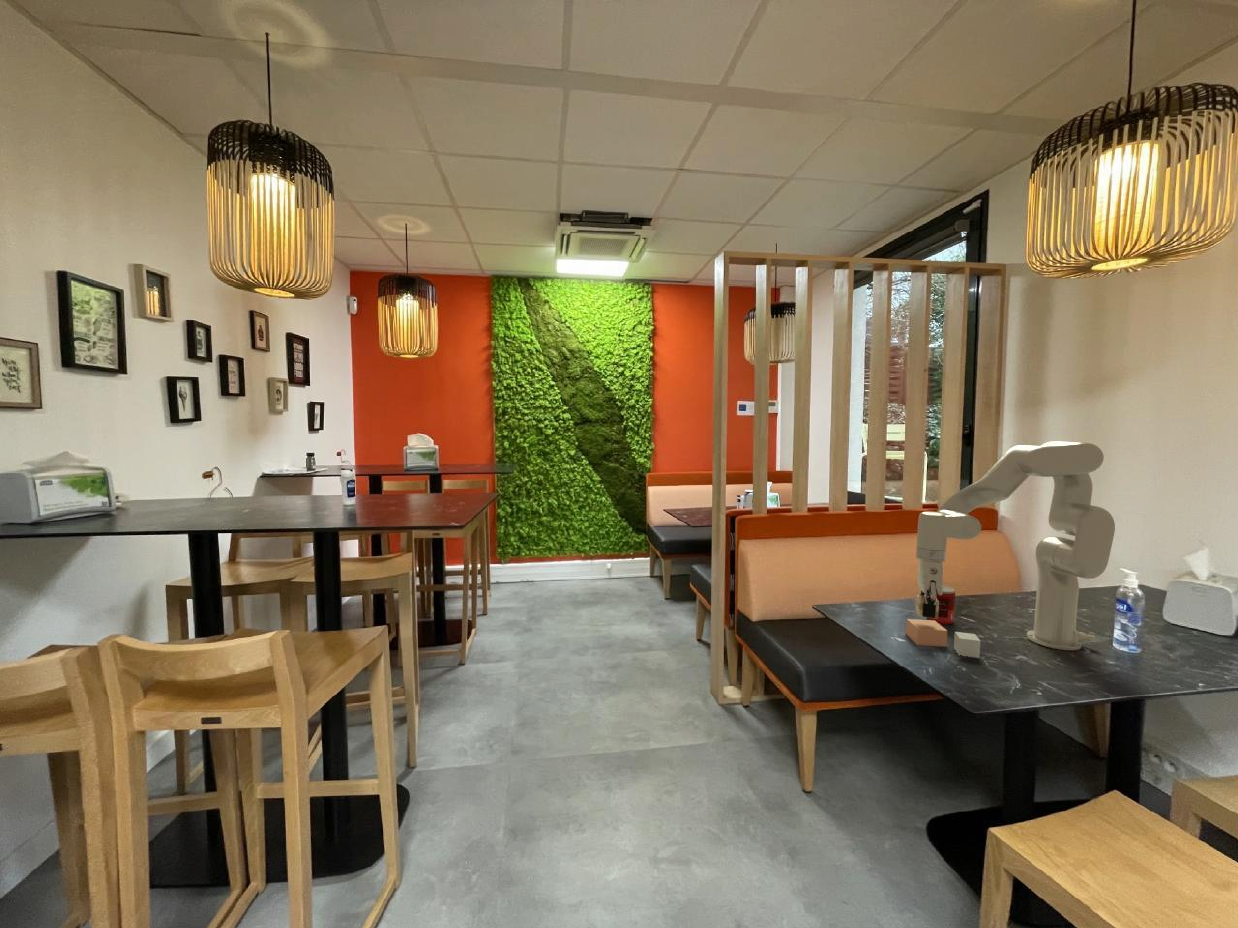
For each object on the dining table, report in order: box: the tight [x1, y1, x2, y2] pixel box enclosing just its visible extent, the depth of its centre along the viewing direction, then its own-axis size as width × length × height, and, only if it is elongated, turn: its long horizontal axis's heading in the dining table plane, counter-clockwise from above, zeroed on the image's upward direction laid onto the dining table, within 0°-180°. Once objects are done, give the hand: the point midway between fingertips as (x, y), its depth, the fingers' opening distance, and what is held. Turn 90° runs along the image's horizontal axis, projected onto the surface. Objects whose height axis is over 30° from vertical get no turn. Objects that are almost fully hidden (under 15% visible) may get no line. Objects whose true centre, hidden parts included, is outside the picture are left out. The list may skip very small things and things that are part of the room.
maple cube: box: [914, 594, 939, 619], centre depth 157 cm, size 5×5×5 cm
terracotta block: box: [905, 618, 948, 648], centre depth 158 cm, size 8×8×5 cm
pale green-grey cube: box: [953, 631, 981, 659], centre depth 149 cm, size 5×5×5 cm
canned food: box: [926, 584, 956, 625], centre depth 174 cm, size 8×8×11 cm
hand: (926, 613), depth 157 cm, fingers closed on maple cube, 5 cm apart
